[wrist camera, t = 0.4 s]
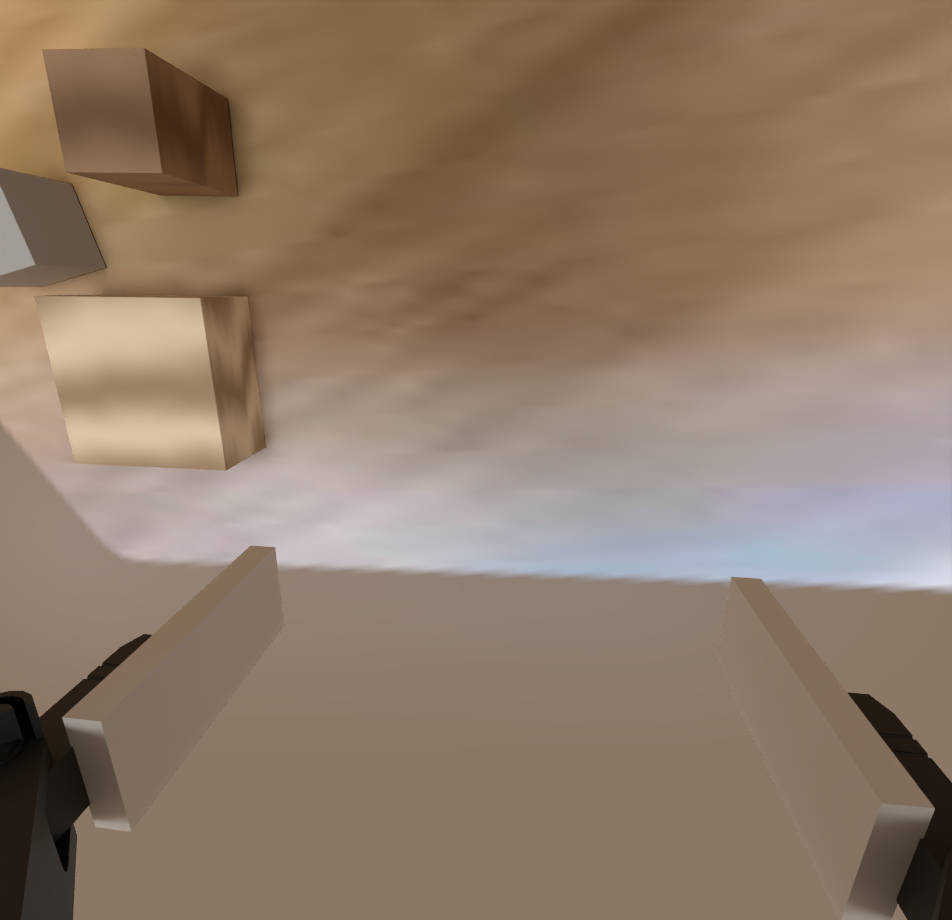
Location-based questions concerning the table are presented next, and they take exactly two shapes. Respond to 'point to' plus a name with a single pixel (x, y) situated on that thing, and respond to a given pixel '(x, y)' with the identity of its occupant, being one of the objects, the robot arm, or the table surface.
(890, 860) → the robot arm
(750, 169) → the table surface
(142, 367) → the birch block
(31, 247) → the slate cube
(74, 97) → the walnut block
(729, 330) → the table surface
